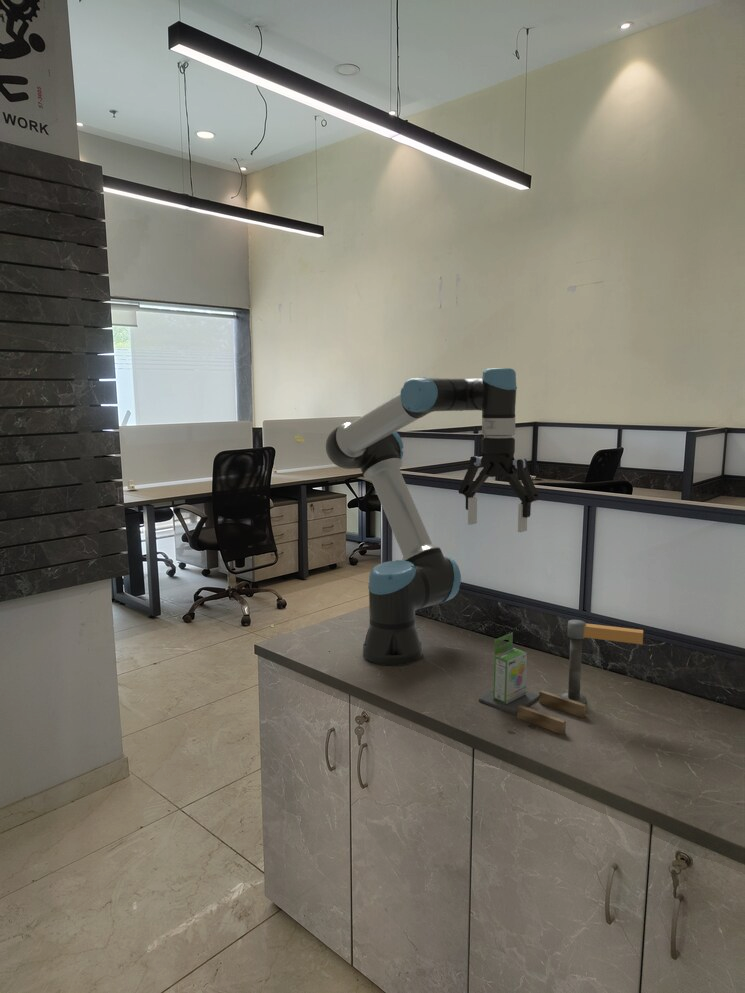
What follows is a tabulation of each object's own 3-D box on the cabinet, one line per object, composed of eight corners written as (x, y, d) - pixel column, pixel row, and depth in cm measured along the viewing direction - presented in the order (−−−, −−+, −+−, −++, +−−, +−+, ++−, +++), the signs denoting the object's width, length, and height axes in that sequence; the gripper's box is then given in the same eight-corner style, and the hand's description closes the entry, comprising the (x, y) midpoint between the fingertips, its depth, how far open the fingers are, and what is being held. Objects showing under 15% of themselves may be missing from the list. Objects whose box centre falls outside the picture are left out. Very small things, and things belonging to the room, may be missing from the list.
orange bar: (566, 637, 135) (567, 624, 135) (568, 632, 139) (568, 618, 138) (642, 647, 130) (643, 633, 129) (642, 641, 133) (643, 627, 133)
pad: (478, 701, 138) (478, 698, 138) (503, 685, 146) (503, 683, 146) (515, 714, 132) (515, 711, 132) (539, 698, 140) (539, 695, 139)
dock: (517, 718, 131) (519, 652, 129) (557, 689, 144) (559, 629, 141) (562, 734, 124) (565, 666, 122) (601, 703, 137) (604, 640, 135)
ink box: (507, 705, 135) (508, 644, 133) (492, 699, 138) (493, 639, 136) (526, 695, 140) (528, 636, 138) (511, 689, 143) (512, 631, 141)
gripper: (444, 435, 153) (444, 523, 156) (539, 439, 136) (536, 537, 139) (462, 434, 158) (462, 518, 161) (556, 437, 141) (553, 531, 145)
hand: (496, 527), depth 150 cm, fingers open, 13 cm apart
